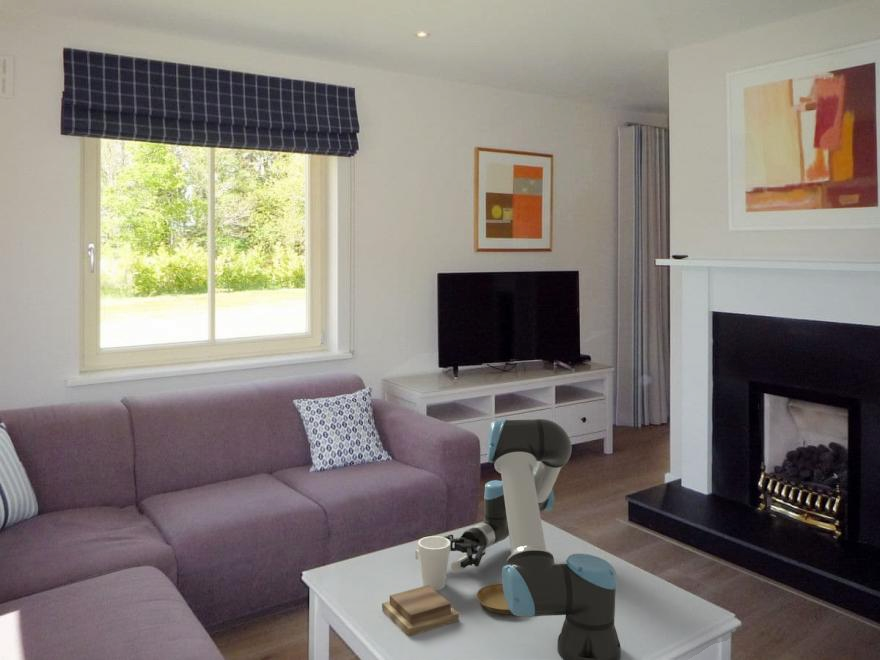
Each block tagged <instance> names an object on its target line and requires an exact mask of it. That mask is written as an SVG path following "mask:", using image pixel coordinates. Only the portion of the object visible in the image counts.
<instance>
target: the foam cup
mask: <svg viewBox="0 0 880 660" xmlns="http://www.w3.org/2000/svg"><path fill="white" fill-rule="evenodd" d="M444 537H445V536H438V535H431V536H429V535H428V536H426V537H421V538H420V539H419V540H418V541H417V549H418V552H419V558H420V559H419V563H420V572H421V580H422V585H423V586H427V585H429V586H430V587H431V588H432V589H434V590H435V591H440V590H442V589H444V588H445V587H446V579H447V572H448V565H449V557H450V553H451V551H450V543H451V542H450V541H449V540H448V539H447V538H444ZM423 586H422V587H423Z"/></svg>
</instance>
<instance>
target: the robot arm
mask: <svg viewBox="0 0 880 660" xmlns="http://www.w3.org/2000/svg"><path fill="white" fill-rule="evenodd" d="M489 425H490V426H489V429H488V434H487V435H488V436H487V437H488V438H487V449H486V450H487V451H486V459H487V462H488V463H491V464H493V465H494V469H495V471H496V472H498V473H499V474H500V476H501V480H498V479H495V480H490V481H488V482H486V483H485V485H484V495H483V498H484V499H483V500H484V506H483V507H484V508H483V509H484V513H483V519H484V520H483V522H481V523H479V524H477V525H475V526H473V527H471V528H469V529H467V530H465V531H464V532H463V533H462V535H461V536H460V537H456V538H455V537H454V534H449V535H446V536H443V537H444V538H447V539H448V540H449V541H450V542H451V543H450V552H461V553H462V554H463V553H464V554H466V555H464V556H462V557H460V558H458V559H457V560H455V561H453V562H451V564H450V565H451V568H450V569H451V571H450V572H451V573H452V574H454V573H456V572H459V570H461V569H464V568H467V567H468V566H473V565H474V567H479V565H480V564H481V562H482V559H483V556H485V555H486V550H487V548H488V549H489V548H490V547H491V546H493V545H495V544H498V543H499V542H502V541H504V540H505V539H507V538H508V537H509V542H510V543H509V545H510V551H511V554H510V555H509V556H508V558H507V559H506V564H505V565H504V566H502V570H501V581H502V584H503V591H504V596H505V600H506V603H507V606H508V608H509V610H510V611H511V612H512V613H511V614H512V615H514V616H516V617H528V618H533V617H545V616H546V617H548V616H565V618H564V621H563V624H562V628H561V631H560V633H559V635H558V638H557V645H556V646H557V648H556V649H557V653H558V655H559V656H560V657H561V658H562V659H563V660H621V656H622V655H621V654H622V652H621V651H622V647H621V646H622V645H621V643H620V640H619V636H618V633H617V629H616V626H615V617H616V616H615V614H616V613H615V611H616V590H617V578H616V576H617V575H616V569H615V568H614V566H613V565H612V564H611V563H610V562H608V561H607V560H605V559H603V558H601V557H599V556H596V555H592V554H589V553H573V554H570V555H569V556H568V557H567V559H566V562H565V563H555V560H554V559H555V557H554V555H553V553H551V551H549V550H547V549H546V548H547V547H546V542H545V541H546V540H545V537H544V536H545V535H544V529H543V523H542V519H541V512H544V511H552V509H553V508H554V503H555V497H554V496H555V495H554V490H553V488H554V485H555V483H556V481H557V478H558V476H559V473H561V472H560V471H561V470H562V467H564V466H566V465H567V463H568V462H569V459H570V458H571V455H572V450H573V448H572V442H571V439H570V436H569V435H568V432H567V431H566V430H565V429H564V428H563V427H562V426H561V425H559V424H558V423H556V422H554V421H552V420H549V419H544V418H537V419H506V418H505V419H499V420H498V419H497V420H494V421H492V422H491V423H490V424H489ZM453 546H454V547H453ZM473 555H474V557H473ZM415 560H420V558H419V552H418V548H417V549H415Z"/></svg>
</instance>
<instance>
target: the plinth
mask: <svg viewBox="0 0 880 660" xmlns="http://www.w3.org/2000/svg"><path fill="white" fill-rule="evenodd" d="M381 606H382V607H381V609H382V612H383V613H384V614H385V615H387V617H388V618H389V619H390V620H392V622H394V623H395V624H396V625H397V626H398V628H400V629H401V631H403V632H404V633H405V635H407V636H408V637H410V636H413V635H417V634H420V633H422V632H426V631H430V630H433V629H436V628H439V627H442V626H446V625H449V624H452V623H455V622H458V621H459V622H460V619H459V617H460V614H459V613H458V611H456V610H455V609H454V608H452V603H451V602H450V601H448V600H447V599H446V598H445V597H444V596H443V595H441V593H439V592H438V591H437V590H434V589H432V588H431V587H430V586H429V585H427V586H420V587H416V588H413V589H409V590H405V591H401V592H398V593H394V594H390V595H389V601H386V602H383V603H381Z"/></svg>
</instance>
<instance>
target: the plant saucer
mask: <svg viewBox="0 0 880 660" xmlns="http://www.w3.org/2000/svg"><path fill="white" fill-rule="evenodd" d="M476 598H477V600H478V602H479V604H481V605H482V607H483V608H485V609H486V610H488V611H490V612H492V613H494V614H502V615H509V614H513V613H512V612H511V611H510V610H509V608H508V606H507V603H506V600H505V596H504V591H503V583H492V584H488V585H484V586H483V587H481V588H480V589H478V591H477V593H476Z"/></svg>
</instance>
